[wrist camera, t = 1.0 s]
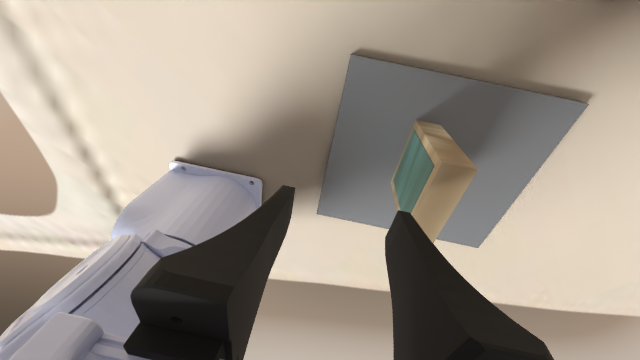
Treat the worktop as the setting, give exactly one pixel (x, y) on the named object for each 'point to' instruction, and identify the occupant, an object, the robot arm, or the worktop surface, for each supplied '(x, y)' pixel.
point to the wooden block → (431, 177)
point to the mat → (458, 121)
